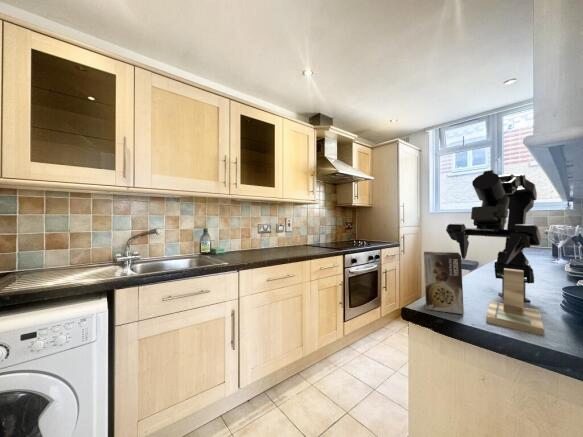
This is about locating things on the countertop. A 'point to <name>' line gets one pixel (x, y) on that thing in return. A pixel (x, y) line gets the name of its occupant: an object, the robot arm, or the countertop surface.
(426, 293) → the food box
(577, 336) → the countertop surface
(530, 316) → the maple board
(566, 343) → the countertop surface
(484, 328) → the countertop surface
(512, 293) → the wooden block
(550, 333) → the countertop surface
